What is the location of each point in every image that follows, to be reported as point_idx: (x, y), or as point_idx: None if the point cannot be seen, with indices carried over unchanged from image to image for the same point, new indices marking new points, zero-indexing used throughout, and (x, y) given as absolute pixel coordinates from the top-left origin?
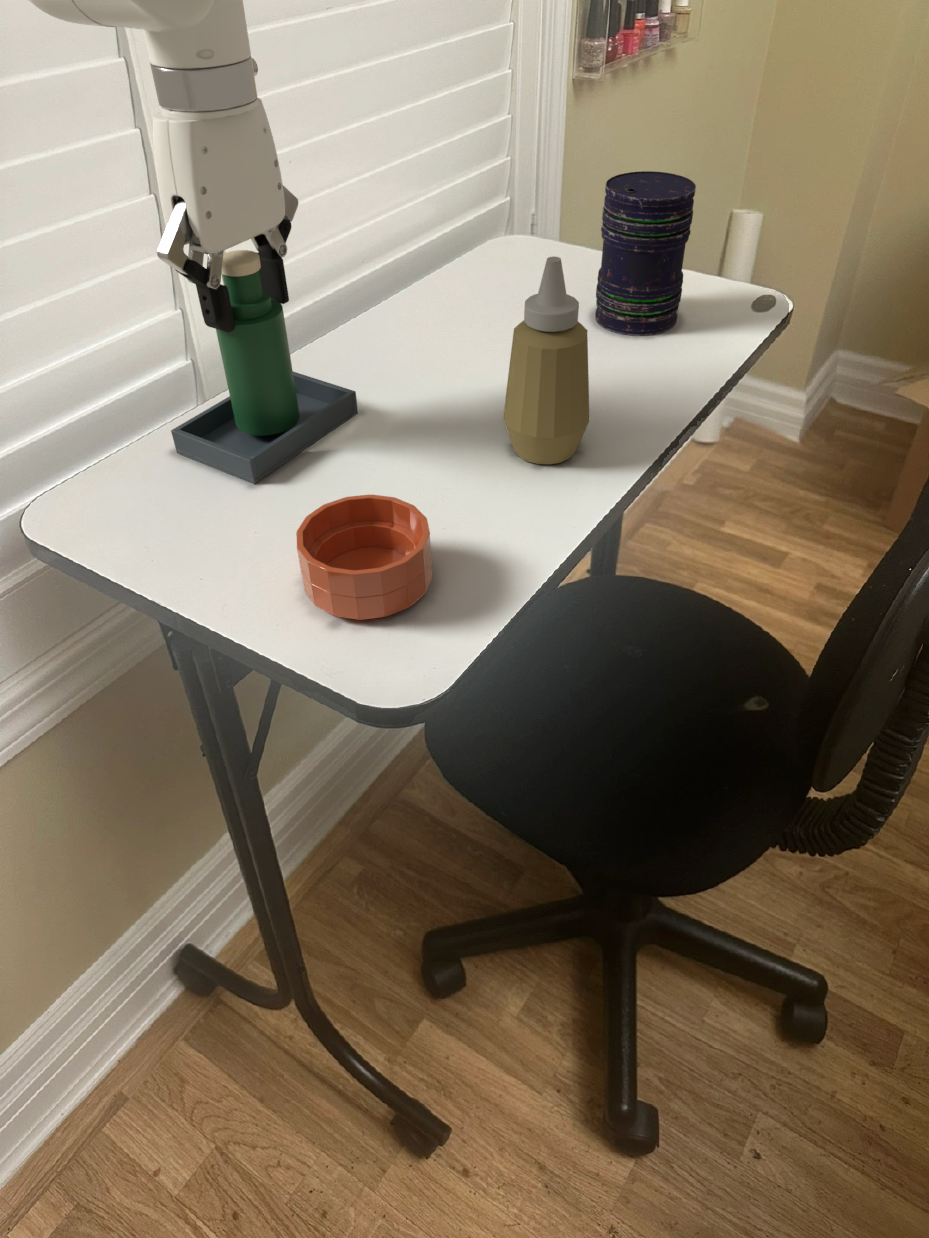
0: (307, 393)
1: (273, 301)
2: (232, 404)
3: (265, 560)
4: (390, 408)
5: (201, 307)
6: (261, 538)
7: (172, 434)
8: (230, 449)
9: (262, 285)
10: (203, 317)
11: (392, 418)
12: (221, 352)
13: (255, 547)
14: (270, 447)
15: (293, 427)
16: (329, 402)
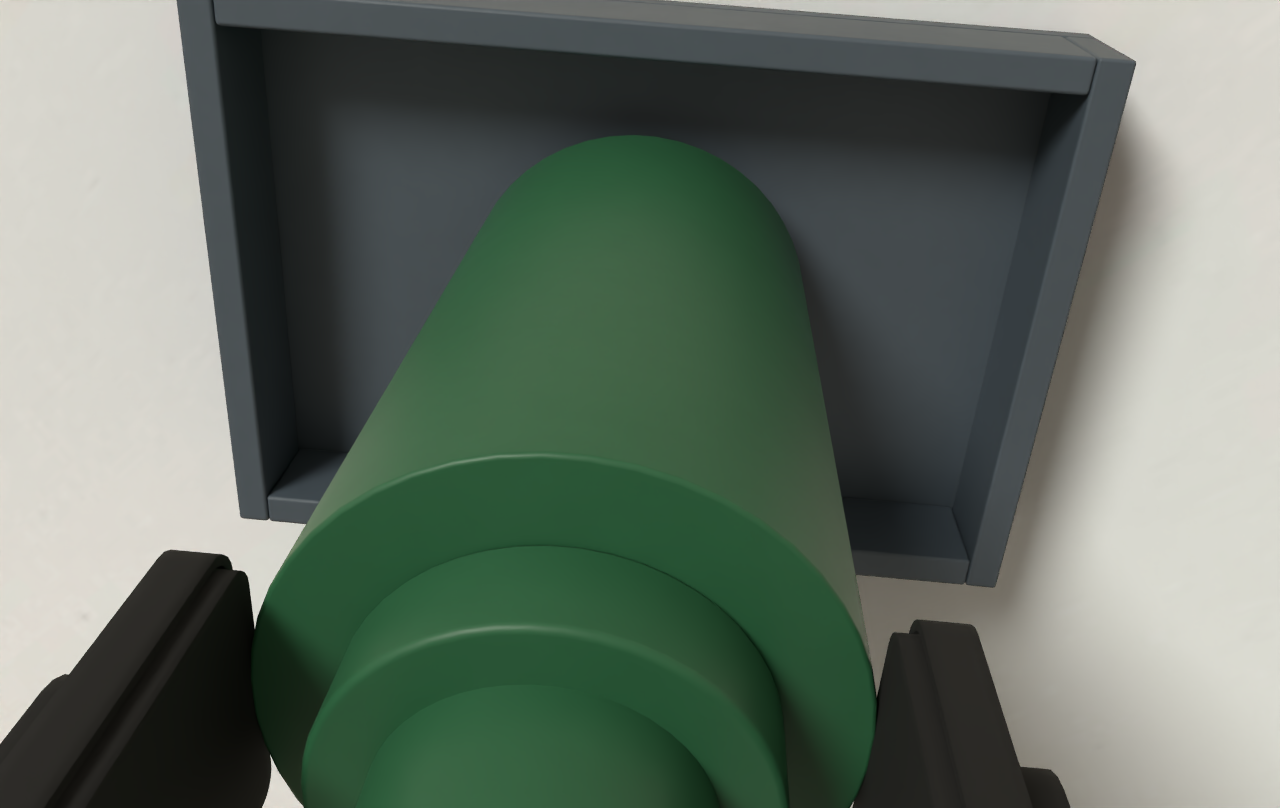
0: (1016, 265)
1: (819, 800)
2: (462, 259)
3: (14, 710)
4: (1067, 605)
5: (2, 753)
6: (76, 647)
7: None
8: (248, 396)
9: (902, 773)
10: (58, 678)
11: (986, 647)
12: (372, 412)
13: (32, 656)
14: None
15: None
16: (980, 399)
